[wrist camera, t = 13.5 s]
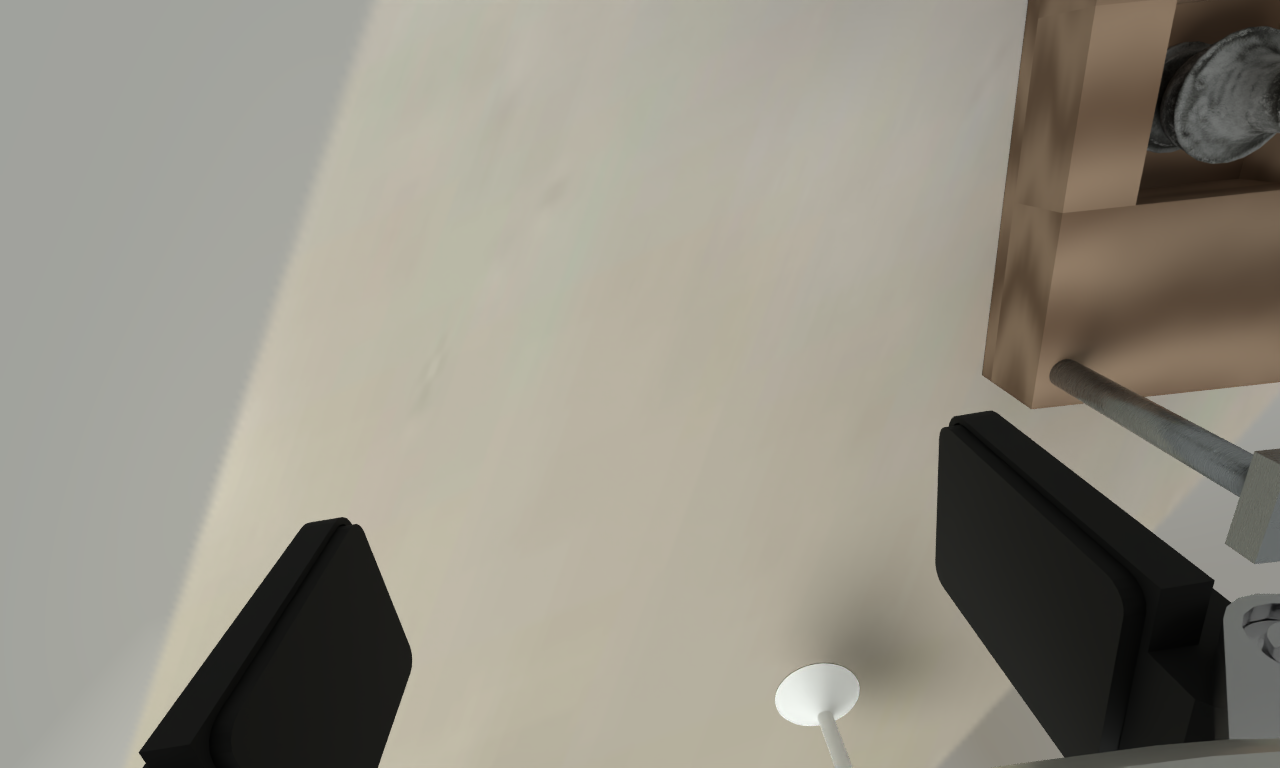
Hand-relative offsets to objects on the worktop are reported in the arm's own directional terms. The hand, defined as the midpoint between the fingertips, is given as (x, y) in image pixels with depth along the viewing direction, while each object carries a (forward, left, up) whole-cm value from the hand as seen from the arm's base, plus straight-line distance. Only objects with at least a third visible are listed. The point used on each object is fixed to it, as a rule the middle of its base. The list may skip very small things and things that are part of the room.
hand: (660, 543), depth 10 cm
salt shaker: (-4, +29, -27) cm, 40 cm away
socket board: (-1, +30, -27) cm, 40 cm away
